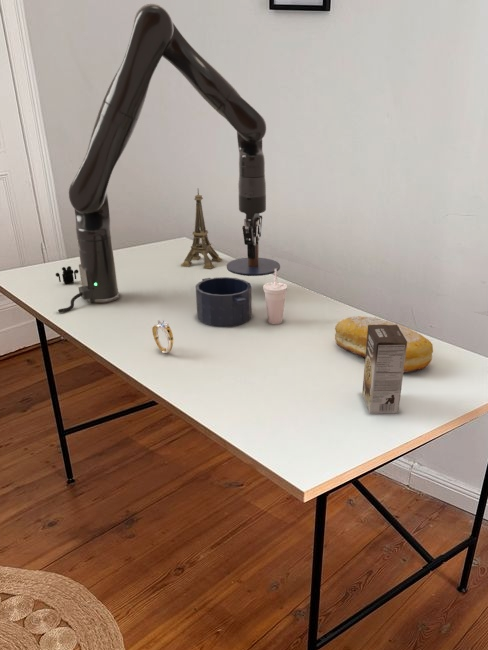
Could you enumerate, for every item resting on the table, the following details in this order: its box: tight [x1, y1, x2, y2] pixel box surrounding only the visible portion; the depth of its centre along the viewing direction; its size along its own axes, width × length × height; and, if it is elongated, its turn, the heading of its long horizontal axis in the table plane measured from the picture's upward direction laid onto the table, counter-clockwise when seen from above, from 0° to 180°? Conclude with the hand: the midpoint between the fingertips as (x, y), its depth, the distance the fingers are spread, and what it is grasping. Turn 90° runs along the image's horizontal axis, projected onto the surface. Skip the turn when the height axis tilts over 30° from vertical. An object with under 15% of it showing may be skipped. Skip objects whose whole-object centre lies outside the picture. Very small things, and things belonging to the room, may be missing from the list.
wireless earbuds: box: [55, 265, 80, 285], centre depth 206 cm, size 7×2×5 cm, turn 124°
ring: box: [151, 319, 174, 354], centre depth 164 cm, size 7×3×8 cm, turn 37°
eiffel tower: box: [180, 189, 223, 270], centre depth 219 cm, size 11×11×25 cm
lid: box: [226, 243, 281, 277], centre depth 197 cm, size 16×16×7 cm
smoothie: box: [262, 269, 289, 325], centre depth 180 cm, size 6×6×14 cm
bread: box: [334, 315, 434, 373], centre depth 164 cm, size 13×26×8 cm, turn 44°
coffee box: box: [361, 325, 407, 415], centre depth 142 cm, size 9×6×16 cm
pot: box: [195, 276, 253, 328], centre depth 184 cm, size 15×20×8 cm
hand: (253, 256), depth 197 cm, fingers closed on lid, 3 cm apart
